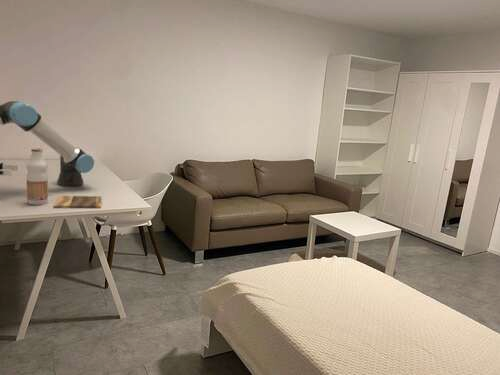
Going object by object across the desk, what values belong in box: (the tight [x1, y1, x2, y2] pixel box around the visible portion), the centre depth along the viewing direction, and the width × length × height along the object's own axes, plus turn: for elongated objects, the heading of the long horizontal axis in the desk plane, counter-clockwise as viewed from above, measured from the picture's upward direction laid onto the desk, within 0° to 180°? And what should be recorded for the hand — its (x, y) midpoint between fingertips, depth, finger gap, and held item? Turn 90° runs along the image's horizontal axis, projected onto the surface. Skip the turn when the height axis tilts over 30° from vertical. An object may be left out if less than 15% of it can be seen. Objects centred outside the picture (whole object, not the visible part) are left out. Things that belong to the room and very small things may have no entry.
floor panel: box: [53, 195, 102, 209], centre depth 202 cm, size 22×20×1 cm
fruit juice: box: [26, 147, 49, 206], centre depth 193 cm, size 9×9×28 cm
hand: (14, 170), depth 189 cm, fingers open, 13 cm apart
